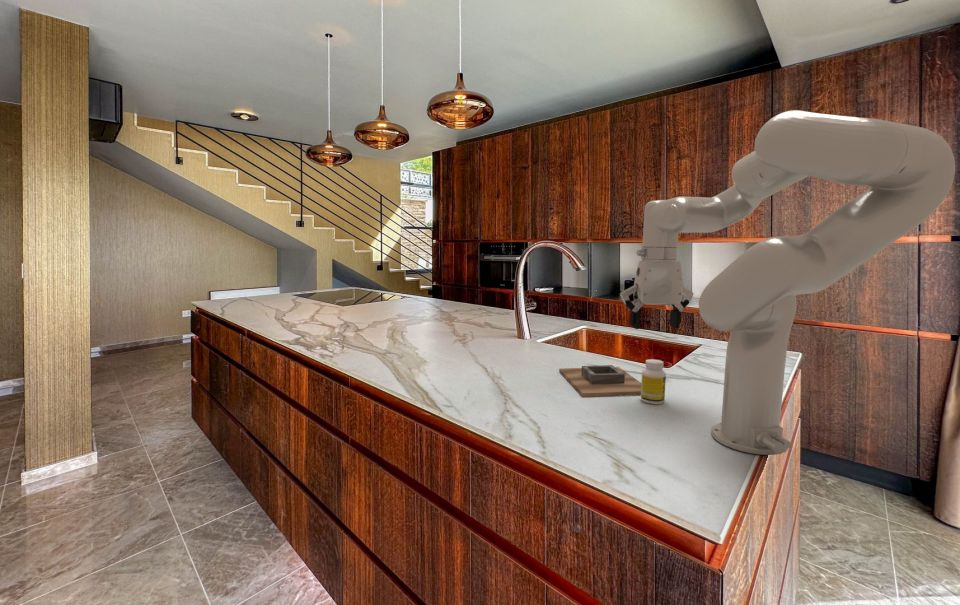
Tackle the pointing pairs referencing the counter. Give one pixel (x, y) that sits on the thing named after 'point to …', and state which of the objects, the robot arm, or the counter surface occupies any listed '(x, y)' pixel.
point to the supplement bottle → (653, 382)
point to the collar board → (601, 381)
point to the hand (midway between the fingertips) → (654, 327)
